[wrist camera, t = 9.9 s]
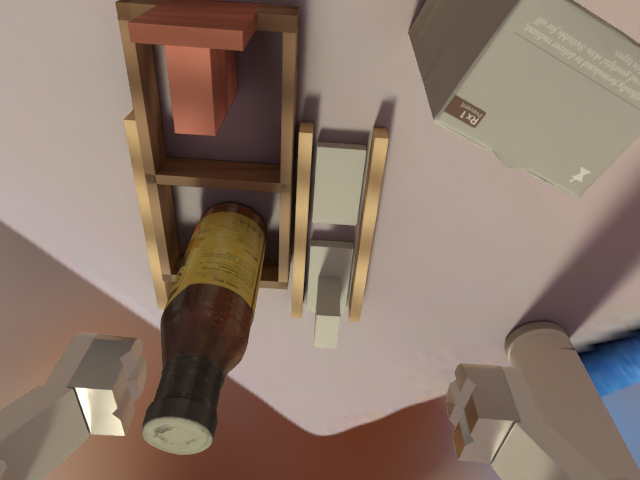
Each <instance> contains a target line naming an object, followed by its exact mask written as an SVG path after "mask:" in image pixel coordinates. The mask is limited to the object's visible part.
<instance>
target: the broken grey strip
mask: <svg viewBox="0 0 640 480" xmlns="http://www.w3.org/2000/svg"><path fill="white" fill-rule="evenodd" d="M365 158H366V145H359V144H345V143H331V142H318V144H317V159H316V174H315V189H314V204H313V219H312V223H326V224H340V225H355V226H356V225H357V218H358V210H359V203H360V195H361V188H362V180H363V173H364V165H365ZM352 256H353V242H341V241H327V240H312V239H311V249H310V264H309V279H308V293H307V308H306V311H311V312H316V313H315V335H314V347H318V348H333V349H336V347H337V339H338V331H339V323H340V313H342V314H345V308H346V301H347V293H348V286H349V278H350V271H351V263H352Z"/></svg>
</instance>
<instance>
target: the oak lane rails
mask: <svg viewBox="0 0 640 480" xmlns="http://www.w3.org/2000/svg"><path fill="white" fill-rule="evenodd" d="M124 125H125V130H126V136H127V141H128V146H129V152H130V157H131V163H132V168H133V173H134V179H135V184H136V190H137V195H138V200H139V206H140V211H141V217H142V222H143V227H144V233H145V238H146V244H147V249H148V254H149V260H150V265H151V271H152V276H153V281H154V287H155V292H156V298H157V303H158V308H159V309H165V306H166V304H167V301H168V298H169V296H170V294H171V291H172V288H173V282H169V281H163V279H162V273H161V268H160V262H159V256H158V250H157V244H156V238H155V232H154V226H153V220H152V215H151V209H150V203H149V197H148V191H147V185H146V179H145V173H144V167H143V162H142V156H141V150H140V144H139V138H138V132H137V126H136V120H135V115H134V110H133V111H132V112H131V113H130V114H129V115H128V116H127V117H126V118H125V119H124ZM313 126H314V123H307V122H301V123H300V130H299V146H298V170H297V194H296V218H295V242H294V266H293V290H292V314H291V318H302V308H303V293H304V276H305V259H306V243H307V226H308V209H309V193H310V176H311V159H312V143H313ZM388 140H389V138H388V134H387V129H386V128H377V127H373V133H372V141H371V148H370V155H369V162H368V170H367V177H366V184H365V191H364V199H363V206H362V213H361V220H360V228H359V235H358V242H357V249H356V257H355V264H354V271H353V278H352V286H351V293H350V300H349V321H353V322H359V321H360V315H361V308H362V302H363V296H364V290H365V283H366V277H367V271H368V265H369V258H370V252H371V246H372V240H373V234H374V227H375V221H376V215H377V209H378V202H379V196H380V190H381V184H382V177H383V171H384V165H385V159H386V152H387V146H388Z"/></svg>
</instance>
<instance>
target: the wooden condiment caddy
mask: <svg viewBox="0 0 640 480" xmlns="http://www.w3.org/2000/svg"><path fill="white" fill-rule="evenodd" d="M115 3H116V9H117V14H118V20H119V26H120V32H121V38H122V44H123V50H124V56H125V62H126V67H127V73H128V79H129V85H130V91H131V97H132V103H133V109H134V115H135V120H136V126H137V132H138V138H139V144H140V150H141V156H142V162H143V167H144V173H145V179H146V185H147V191H148V197H149V203H150V209H151V215H152V220H153V226H154V232H155V238H156V244H157V250H158V256H159V262H160V268H161V273H162V279H163V281H169V282H175V280H176V277H177V274H178V272H179V270H180V267H181V264H182V261H183V259H184V256H185V254H180V250H179V243H178V236H177V228H176V221H175V214H174V206H173V199H172V192H171V185H177V186H191V187H206V188H220V189H235V190H249V191H263V192H278V193H280V226H279V260H263V266H262V272H261V278H260V284H259V287H260V288H275V289H287V288H288V280H289V272H290V253H291V226H292V198H293V170H294V143H295V115H296V87H297V60H298V32H299V7H294V6H281V5H268V4H255V3H242V2H228V1H215V0H119V1H117V2H115ZM256 30H259V31H272V32H283V61H282V116H281V165H271V164H257V163H243V162H228V161H214V160H200V159H186V158H172V157H167V155H166V147H165V140H164V133H163V125H162V118H161V111H160V103H159V96H158V89H157V81H156V74H155V67H154V59H153V52H152V44H157V45H165V54H166V62H167V70H168V78H169V87H170V95H171V103H172V112H173V120H174V128H175V133H180V134H194V135H208V136H216V134H217V132H218V130H219V128H220V126H221V124H222V122H223V120H224V118H225V116H226V114H227V112H228V110H229V108H230V106H231V104H232V102H233V100H234V98H235V97H236V95H237V93H238V85H237V58H236V50H237V51H243V50H244V49H245V47H246V45H247V44H248V42H249V40H250V39H251V37H252V36H253V34H254V32H255V31H256Z"/></svg>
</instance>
